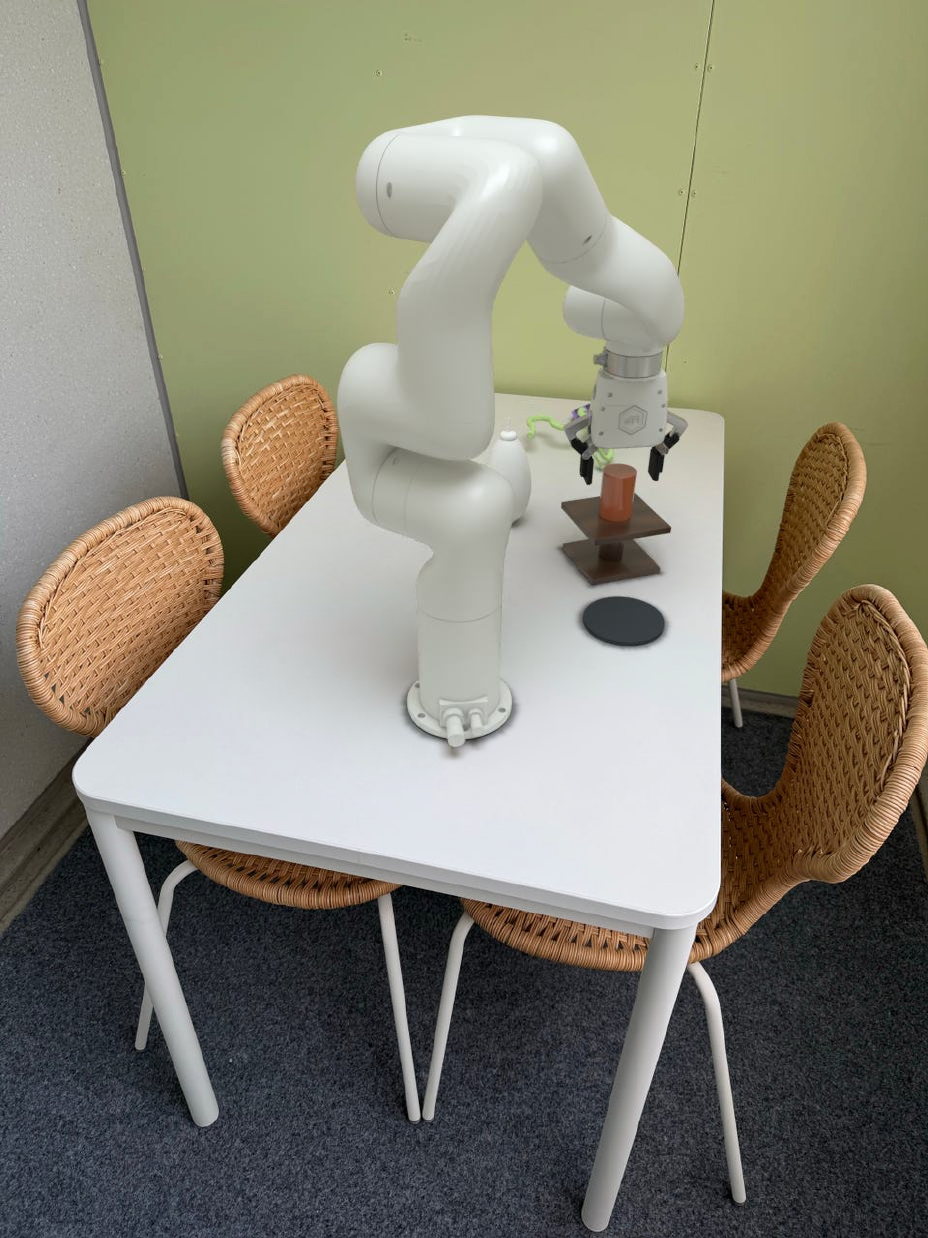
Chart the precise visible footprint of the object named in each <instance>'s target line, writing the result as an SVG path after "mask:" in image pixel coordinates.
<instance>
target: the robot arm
mask: <svg viewBox="0 0 928 1238" xmlns="http://www.w3.org/2000/svg"><path fill="white" fill-rule="evenodd" d="M354 193H355V198H356V203H357V205H358V208H359V211H360V213H361V214H362V216H363V218H364V219H365V221H367V223H368V224H369V225H370V227H372V228H373V229H375V230H376V231H377V232H379V233H381V234H382V235H384V236H387V237H391V238H395V239H400V240H406V241H407V240H408V241H414V242H420V243H426V244H427V243H428V244H430V245H429V246H428V248H427V249H426V250H425V252H424V254H423V255H422V256H421V258H420V259H419V260H418V262H417V263H416V265H415V266H414V267H413V269H412V270H411V272H410V273H409V275H408V276H407V278H406V279H405V281H404V283H403V285H402V287H401V288H400V292H399V294H398V298H397V301H396V305H395V330H396V331H395V332H396V343H393V342H372V343H369V344H366V345H363V346H362V347H360V348H359V349H357V350H356V351H355V352H354V353H353V354H352V355H351V356H350V357H349V359H348V360H347V361H346V363H345V365H344V367H343V370H342V373H341V375H340V378H339V382H338V387H337V396H336V411H337V418H338V419H337V420H338V426H339V431H340V437H341V442H342V448H343V453H344V458H345V463H346V468H347V474H348V480H349V485H350V490H351V494H352V498H353V501H354V504H355V506H356V508H357V510H358V512H359V514H360V515H361V516H362V517H363V518H364V519H365V520H366V521H367V522H368V523H370V524H372V525H374V526H376V527H378V528H381V529H384V530H386V531H388V532H392V533H394V534H397V535H400V536H403V537H406V538H409V539H411V540H414V541H415V542H418V543H421V544H423V545H425V546H427V547H428V548H430V549H431V551H432V556H431V557H430V558H429V559H428V560H426V562H425V563H424V564H423V565H422V567H421V568H420V570H419V571H418V573H417V576H416V581H415V604H416V605H415V607H416V631H417V656H418V657H417V659H418V677H419V678H418V679H416V680H415V681H414V683H413V684H412V685H411V686H410V688H409V690H408V693H407V697H406V705H407V707H406V708H407V711H408V715H409V716H410V719H411V721H412V722H413V723H414V724H415V725H416V726H417V727H419V728H420V729H422V730H423V731H424V732H426V733H428V734H429V735H431V736H432V735H433V736H436V737H439V738H443V739H447V743H448V745H449V746H450V747H453V748H459V747H462V746H463V745H464V744H465V743H466V740H471V739H475V738H480V737H483V736H485V735H488V734H491V733H493V732H494V731H496V730H498V729H499V728H501V727H502V725H504V724H505V723H506V722H507V720H508V719H509V717H510V716H511V712H512V709H513V708H512V707H513V695H512V692H511V689H510V687H509V686H508V685H507V683H506V681H504V680H503V679H502V678H501V656H502V655H501V653H502V652H501V651H502V648H501V647H502V623H503V622H502V621H503V619H502V618H503V617H502V616H503V615H502V614H503V585H504V571H505V570H504V568H505V560H506V554H507V547H508V543H509V538H510V535H511V530H512V525H513V523H514V522H513V518H514V512H515V495H514V491H513V489H512V487H511V485H510V483H509V482H508V481H507V479H506V478H505V477H504V476H503V475H501V474H500V473H499V472H497V471H496V470H494V469H492V468H490V467H488V466H486V464H483V463H480V462H478V461H474V460H473V459H475V458H478V457H479V456H481V455H482V454H483V453H484V452H485V451H486V450H487V449H488V447H489V446H490V444H491V441H492V439H493V435H494V432H495V424H496V397H495V394H496V393H495V377H494V375H495V374H494V373H495V372H494V356H493V330H492V329H493V328H492V326H493V325H492V324H493V311H494V305H495V300H496V298H497V296H498V292H499V290H500V287H501V285H502V283H503V281H504V279H505V277H506V275H507V273H508V271H509V269H510V267H511V265H512V264H513V262H514V260H515V259H516V257H517V255H518V253H519V252H520V250H521V248H522V247H523V246H524V244H525V242H526V243H527V244H528V246H529V248H530V249H531V251H532V253H533V254H534V255H535V257H536V259H537V261H538V262H539V264H540V265H541V266H542V267H543V269H544V270H545V271H546V272H547V273H549V274H550V275H551V276H552V277H554V278H557V280H560V281H562V282H564V283H566V284H567V285H569V287H568V288H567V290H566V292H565V295H564V297H563V302H562V316H563V319H564V322H565V324H566V325H567V327H568V328H569V329H570V330H571V331H573V332H574V333H576V334H578V335H581V336H583V337H587V338H593V339H597V340H601V341H602V340H603V341H605V342H604V343H605V345H604V346H603V348H602V349H603V350H602V351H601V352H600V353H597V354H596V353H595V354H593V359H592V362H593V365H594V366H597V365H598V366H600V368H599V369H598V370H597V375H596V377H595V380H594V385H593V389H592V393H591V398H590V403H589V404H590V409H589V412H588V413H587V414H585V415H583V416H581V417H579V418H577V419H575V420H574V419H573V420H572V421H570V422H568V423H566V424H563V425H564V427H563V430H564V431H563V432H564V433H565V436H566V438H567V440H568V441H569V444H570V446H571V447H572V449H573V450H574V451H575V452H577V453H578V454H579V455H580V459H579V472H578V473H579V476H580V478H583V480H584V482H585V485H586V486H591V485H593V478H594V477H593V476H594V465H595V458H594V457H593V454H594V453H595V454H596V452H597V451H598V450H597V449H598V448H601V449H602V450H608V449H613V450H614V449H615V450H616V449H617V450H618V449H636V448H637V449H639V448H650V447H651V448H650V452H649V459H648V467H647V473H648V475H649V476H650V478H651V480H652V481H654V482H659V480H660V474H662V473H663V471H664V464H665V456H667V455H668V454H669V452H670V449H672V448H673V447H674V446H675V445H676V444H678V443H679V441H680V438H681V437H682V435H684V433H685V431H686V430H687V428H688V427H689V423H688V421H687V420H686V419H685V418H684V417H682V416H679V415H677V414H675V413H673V412H671V411H670V410H668V397H669V395H668V391H669V390H668V375H667V372H666V371H665V370H664V369H663V368H662V363H663V355H664V347H667V346H669V345H670V344H672V342H674V340H675V339H676V338H677V336H678V335H679V334H680V331H681V330H682V327H683V324H684V320H685V315H686V314H685V313H686V301H685V296H684V290H683V287H682V283H681V280H680V278H679V276H678V273H677V270H676V267H675V266H674V264H673V262H672V260H671V259H670V258H669V257H668V255H667V254H666V253H665V252H664V251H663V250H661V249H660V248H659V247H658V246H657V245H656V244H655V243H652V242H651V240H649V239H648V238H645V237H644V236H643V235H641V234H640V233H639V232H637V230H635V229H633V228H632V227H631V226H630V225H628V224H626V223H625V222H623V221H622V220H621V219H619V218H618V217H616V216H614V215H612V214H611V213H610V211H609V209H608V206H607V204H606V203H605V200H604V198H603V196H602V193H601V191H600V190H599V188H598V185H597V183H596V181H595V179H594V177H593V174H592V172H591V170H590V168H589V165H588V164H587V162H586V160H585V156H584V155H583V153H582V151H581V149H580V147H579V145H578V143H577V141H576V139H575V138H574V136H573V135H572V134H571V133H570V132H569V131H568V130H567V129H566V128H564V127H563V126H562V125H560V124H558V123H556V122H554V121H550V120H546V119H540V118H531V117H517V116H515V117H513V116H499V115H497V116H496V115H486V114H485V115H484V114H483V115H482V114H474V115H462V116H456V117H451V118H446V119H445V118H444V119H440V120H436V121H431V122H426V123H422V124H417V125H411V126H406V127H401V128H395V129H392V130H388V131H385V132H383V133H381V134H380V135H378V136H376V137H375V138H374V139H373V140H372V141H371V142H369V144H368V145H367V147H366V148H365V150H364V151H363V152H362V155H361V157H360V159H359V161H358V164H357V168H356V172H355V180H354ZM601 366H602V367H601ZM668 424H669V425H672V428H671V430H669V432H667V425H668ZM587 426H588V429H587V433H588V434H587V436H586V437H585V438H584V439H583V440H581V439H580V438H579V437H578V436H577V433H578V432H580V431H582V430H581V429H583V428H585V427H587Z"/></svg>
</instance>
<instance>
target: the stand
mask: <svg viewBox="0 0 928 1238" xmlns="http://www.w3.org/2000/svg"><path fill="white" fill-rule="evenodd" d="M599 504H600V495H598V496H593V497H585V498H579V499H572V500H565V501H561V503H560V508H561V510H562V511H563V512H564V513H565V514H566V515H567V516H568V518H569V519H571V521H572V522H573V523H574V524H575V525H576V526H577V528H578V529H579V530H580V531H581V532H582V534H584V536H585V537H586V538H587V539H581V540H575V541H570V542H563V543H562V550H563V551H564V553H565V554H566V555H567V557H568V558H569V559H570V561H572V562H573V564H574V565H575V566H576V568H577V569H578V570H579V571H580V573H581V574H582V575H583V576H584V578H585V579H586V580H587V582H589V584H590V585H591V586H596V585H601V584H606V583H607V584H608V583H612V582H619V581H624V580H629V579H635V578H641V577H645V576H646V577H647V576H651V575H656V574H660V572H661V567H660V566H659V565H658V563H657V562H656V561H655V560H654V559H653V558H652V557H651V556H650V555H649V554H648V553H647V552H646V551H645V549H643V548H642V547H641V546H640V545H639V543H637V542H636V541H635V540H637V539H643V538H649V537H654V536H660V535H661V536H662V535H666V534H671V532H672V526H671V525H669V523H667V521H666V520H665V519H663V517H661V516H660V515H659V514H658V513H657V512H656V511H655V510H654V509H653V508H652V507H651V506H650V505H649V504H647V502H645V501H644V499H642V498H641V497H640V496H639V495H638V494H637V493H636V492H634V500H633V508H632V516H631V518H630V519H628V520H626V521H622V522H613V521H608V520H605V519H603V518H602V517H600V515H599Z"/></svg>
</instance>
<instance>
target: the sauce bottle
mask: <svg viewBox="0 0 928 1238" xmlns="http://www.w3.org/2000/svg"><path fill="white" fill-rule="evenodd" d="M506 423H507V424H506V426H507V427H506V430H502V431H501V432H500V433H499V438H498V439H497V440H496V441H495V443H494V444H493V446H492V448H491V449H490V451H489V454H488V456H487V459H486V462H485V465H486V466H488V467H490V468H492V469H494V470H496V471H497V472H499V473H500V474H501V475H503V476H504V477H505V478H506V479H507V481H508V482H509V483H510V485H511V487H512V489H513V491H514V495H515V512H514V518H513V522H512V523H514V522H516V521H517V520H519V519H520V518H521V517H522V516H523V514H524V513H525V511H526V510H527V507H528V505H529V502H530V500H531V495H532V472H531V466H530V463H529V459H528V456H527V454H526V451H525V448H524V446H523V445H522V443H521V442H520V440H519V439H518V438H517V437H518V433H517V432H516V431H514V430H511V418H510V416H508V417H507V422H506Z"/></svg>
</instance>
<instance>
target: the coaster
mask: <svg viewBox="0 0 928 1238" xmlns="http://www.w3.org/2000/svg"><path fill="white" fill-rule="evenodd" d="M582 622H583V625H584V628H585V630H587V632H588V633H590V634H591V635H592V636H593V637H595V639H598V640H600V641H602V642H606V643H608V644H612V645H616V646H623V647H636V646H643V645H646V644H649V643H652V642H654V641H656V640H657V639H658V638H660V636H661V635H662V634H663V632H664V630H665V625H666V624H665V623H666V622H665V618H664V616H663V614H662V612H660V610H659V609H658V608H657V607H655V606H654V605H652V604H651V603H649V602H647V601H645V600H641V599H639V598H635V597H630V596H621V595H619V596H617V595H615V596H607V597H601V598H598V599H596V600H594V601H592V602H591V603H589V604H588V605H587V606H586V608H584V611H583V614H582Z"/></svg>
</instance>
